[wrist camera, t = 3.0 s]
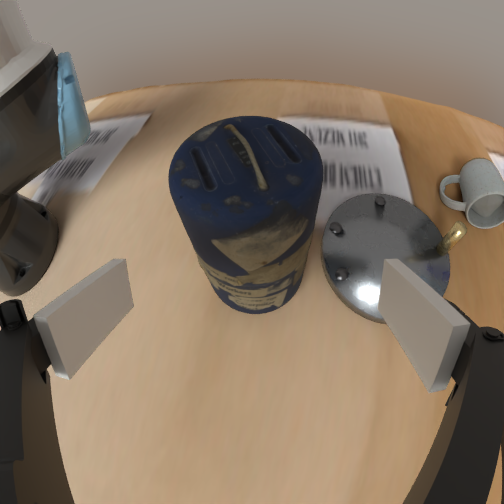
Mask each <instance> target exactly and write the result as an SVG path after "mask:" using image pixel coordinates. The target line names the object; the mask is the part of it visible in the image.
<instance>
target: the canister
mask: <svg viewBox="0 0 504 504" xmlns="http://www.w3.org/2000/svg"><path fill="white" fill-rule="evenodd" d="M322 182H323V165H322V160H321V157H320V154H319V152H318V150H317V148H316V147H315V145H314V144H313V142H312V141H311V140H310V139H309V138H308V137H307V136H306V135H305V134H304V133H302V132H301V131H300V130H299V129H297V128H295V127H294V126H292V125H290V124H287V123H285V122H282V121H279V120H276V119H272V118H268V117H261V116H239V117H233V118H228V119H223V120H220V121H217V122H214V123H211V124H209V125H207V126H205V127H203V128H201V129H200V130H198V131H196V132H195V133H194V134H192V135H191V136H190V137H189V138H188V139H186V140H185V141H184V142H183V143H182V145H181V146H180V147H179V149H178V150H177V151H176V153H175V155H174V157H173V159H172V162H171V165H170V169H169V188H170V193H171V196H172V199H173V201H174V204H175V206H176V209H177V211H178V213H179V215H180V218H181V220H182V223H183V225H184V227H185V229H186V232H187V234H188V236H189V238H190V240H191V242H192V245H193V248H194V250H195V252H196V254H197V257H198V261H199V264H200V266H201V268H202V269H203V270H204V271H205V274H206V275H207V277H208V279H209V281H210V283H211V285H212V287H213V289H214V291H215V292H216V294H217V295H218V296H219V298H220V299H221V300H222V301H223V302H224V303H225V304H227V305H228V306H230V307H231V308H233V309H235V310H238V311H241V312H244V313H249V314H262V313H267V312H271V311H274V310H276V309H278V308H280V307H282V306H283V305H284V304H286V303H287V302H288V301H289V300H290V299H291V298H292V297H293V296H294V294H295V293H296V291H297V290H298V288H299V286H300V283H301V280H302V276H303V271H304V267H305V263H306V259H307V254H308V250H309V247H310V244H311V239H312V234H313V229H314V225H315V219H316V214H317V208H318V203H319V199H320V195H321V189H322Z"/></svg>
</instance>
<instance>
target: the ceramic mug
mask: <svg viewBox="0 0 504 504" xmlns="http://www.w3.org/2000/svg"><path fill="white" fill-rule="evenodd" d="M451 183H459V184H460V189H461V192H462V197H463V203H462V202H458V201H454V200H452V199H450V198H448V197H447V196H446V195H445V194H444V191H445V189H446V188H445V186H446V185H448V184H451ZM440 198H441V200H442V202H443V203H444V204H445V205H446V206H447V207H449V208H451V209H454V210H459V211H465V214H466V218H467V220H468V222H469V223H470V224H471V225H473V226H475V227H477V228H481V229H488V228H493V227H496V226H498V225H500V224H501V223H503V222H504V182H503V180H502V178H501V175H500V173H499V171H498V170H497V168H496V167H495V165H494V164H493V163H492V162H491V161H489V160H487V159H485V158H474V159H472V160H470V161H468V162H467V163H466V164H464V166H463V167H462V168H461V171H460V175H450V176H447V177H445V178H444V179H443V180H442V181H441V183H440Z"/></svg>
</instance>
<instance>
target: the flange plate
mask: <svg viewBox="0 0 504 504" xmlns="http://www.w3.org/2000/svg"><path fill="white" fill-rule="evenodd" d="M466 232H467V228H466V226H465V224H464V223H462V222H461V221H457V222H456V223H455V225H454V226H453V227H452V228H451V229H450V231H449V232H448V233H447V234H446V235H445V237H444V238H443V237H442V235H441V233H440V232H439V230H438V228H437V227H436V226H435V224H434V223H433V222H432V221H431V220H430V219H429V217H428V216H427V215H425V214H424V213H423V212H422V211H421V210H420V209H418V208H417V207H415V206H414V205H412V204H411V203H409V202H407V201H405V200H403V199H400V198H397V197H394V196H390V195H386V194H365V195H360V196H356V197H354V198H352V199H349V200H348V201H346V202H344V203H343V204H342V205H340V206H339V207H338V208H337V209H336V210H335V211H334V212H333V214H332V215H331V217H330V218H329V220H328V223H327V225H326V228H325V231H324V235H323V238H322V244H321V260H322V266H323V269H324V273H325V276H326V278H327V280H328V282H329V284H330V286H331V288H332V289H333V291H334V292H335V294H336V295H337V296H338V297H339V299H340V300H341V301H342V302H343V303H344V304H345V305H346V306H347V307H349V308H350V309H351V310H353V311H354V312H355V313H357V314H359V315H360V316H362V317H364V318H366V319H369V320H371V321H374V322H378V323H382V324H387V323H386V322H385V320H384V318H383V317H382V315H381V314H380V312H379V311H378V309H377V307H378V301H379V295H380V288H381V281H382V274H383V266H384V259H399V260H400V261H401V262H402V263H403V264H405V265H406V266H407V267H408V268H409V269H411V270H412V271H413V272H414V273H415V274H416V275H418V276H419V277H420V278H421V279H422V280H423V281H425V282H426V283H427V284H428V285H429V286H430V287H431V288H433V289H434V290H435V291H436V292H437V293H438V294H439V295H440V296H442V297H443V295H444V293H445V291H446V288H447V285H448V282H449V276H450V260H449V254H448V252H449V251H450V250H451V249H452V248H453V247H454V246H455V244H456V243H457V242H458V241H459V240H460V239H461V238H462V237H463V236H464V235H465V233H466Z"/></svg>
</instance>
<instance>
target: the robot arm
mask: <svg viewBox="0 0 504 504" xmlns="http://www.w3.org/2000/svg"><path fill="white" fill-rule="evenodd" d="M90 129H91V128H90V123H89V119H88V115H87V111H86V108H85V104H84V100H83V97H82V93H81V90H80V86H79V82H78V79H77V75H76V71H75V68H74V64H73V62H72V58H71V54H70V53H69V52H65V53H60V54H59V55H58V56H56V55H55V52H54V50H53V48H52V46H51V44H49V43H44V42H38V41H34V40H33V39H32V37H31V34H30V32H29V30H28V28H27V25H26V23H25V20H24V17H23V15H22V12H21V10H20V7H19V4H18V2H17V0H0V291H1V292H3V293H4V294H6V295H8V296H19V295H22V294H24V293H25V292H27V291H28V290H30V289H31V288H32V287H33V286H34V285H35V284H36V283H37V282H38V281H39V279H40V278H41V277H42V275H43V274H44V272H45V271H46V269H47V267H48V266H49V264H50V262H51V259H52V257H53V255H54V252H55V249H56V245H57V240H58V225H57V221H56V219H55V217H54V216H53V215H52V214H51V212H50V211H49V210H48V209H47V208H46V207H45V206H43V205H41V204H39V203H37V202H35V201H33V200H31V199H29V198H27V197H25V196H22V195H20V194H19V193H17V191H18V190H20V189H21V188H22V187H24V186H25V185H26V184H27V183H29V182H30V181H31V180H33V179H34V178H35V177H37V176H38V175H39V174H41V173H42V172H44V171H45V170H46V169H48V168H49V167H51V166H52V165H53V164H55V163H56V162H58V161H59V160H61V159H62V160H64V159H65V158H66V156H67V155H68V154H70V153H71V152H73V151H74V150H76V149H77V148H78V147H80V146H81V145H83V144H84V143H85V142H86V141H87V140H88V138H89V135H90ZM133 307H134V304H133V299H132V294H131V289H130V283H129V277H128V271H127V265H126V259H113V260H111V261H110V262H108V263H107V264H105V265H104V266H102V267H101V268H99V269H98V270H96V271H95V272H93V273H92V274H90V275H89V276H87V277H86V278H84V279H83V280H81V281H80V282H79V283H77V284H76V285H74V286H73V287H71V288H70V289H69V290H67V291H66V292H64V293H63V294H62V295H60V296H59V297H57V298H56V299H55V300H53V301H52V302H51V303H49V304H48V305H46V306H45V307H44V308H42V309H41V310H40V311H38V312H37V313H36V314H34V315H33V318H32V319H31V320H29V321H28V320H27V317H26V314H25V311H24V308H23V304H22V301H21V300H18V299H14V300H9V301H5V302H3V303H1V304H0V326H1V331H0V504H75V503H74V500H73V497H72V494H71V491H70V487H69V484H68V480H67V477H66V473H65V469H64V465H63V461H62V456H61V452H60V447H59V442H58V437H57V431H56V425H55V419H54V412H53V404H52V395H51V384H50V376H49V373H48V371H47V368H48V367H49V366H50V365H51V364H52V367H53V369H54V371H55V374H56V376H59V377H62V378H65V379H68V380H70V379H71V378H72V377H73V376H74V374H75V373H76V372H77V371H78V370H79V368H80V367H81V366H82V365H83V364H84V363H85V361H86V360H87V359H88V358H89V357H90V355H91V354H92V353H93V352H94V351H95V350H96V348H97V347H98V346H99V345H100V344H101V343H102V342H103V340H104V339H105V338H106V337H107V336H108V335H109V334H110V332H111V331H112V330H113V329H114V328H115V327H116V326H117V324H118V323H119V322H120V321H121V320H122V319H123V318H124V317H125V316H126V314H127V313H128V312H129V311H130V310H131V309H132V308H133ZM377 309H378V311H379V312H380V314H381V315H382V317H383V318H384V320H385V322H386V323H387V325H388V326H389V328H390V329H391V331H392V332H393V334H394V336H395V337H396V339H397V340H398V342H399V344H400V345H401V347H402V348H403V350H404V352H405V353H406V355H407V357H408V358H409V360H410V362H411V363H412V365H413V367H414V368H415V370H416V372H417V373H418V375H419V377H420V379H421V380H422V382H423V384H424V386H425V387H426V389H427V391H428V393H432V392H436V391H440V390H444V389H446V387H447V385H448V383H449V380H450V378H451V376H452V378H453V379H454V380H455V382H456V384H455V386H454V388H453V390H452V392H451V394H450V396H449V398H448V400H447V402H446V404H445V406H447V408H446V411H445V414H444V417H443V420H442V422H441V425H440V428H439V430H438V433H437V435H436V438H435V440H434V442H433V445H432V447H431V449H430V452H429V454H428V456H427V458H426V460H425V463H424V465H423V467H422V469H421V471H420V473H419V475H418V477H417V479H416V481H415V482H414V484H413V486H412V488H411V490H410V492H409V493H408V495H407V497H406V499H405V500H404V502H403V504H486V501H487V498H488V495H489V491H490V488H491V485H492V481H493V477H494V473H495V469H496V465H497V460H498V455H499V450H500V445H501V450H502V501H501V504H504V334H503V333H502V332H501V331H499V330H498V329H495V328H492V327H480V328H479V327H478V326H477V325H476V324H475V323H474V322H473V321H472V320H471V319H470V318H469V317H468V316H467V315H465V313H464V312H462V311H461V310H460V309H459V308H458V307H457V306H456V305H455V304H454V303H452V302H450V301H448V300H446V299H444V298H443V297H442V296H440V295H439V294H438V293H437V292H436V291H435V290H434V289H433V288H431V287H430V286H429V285H428V284H427V283H426V282H425V281H423V280H422V279H421V278H420V277H419V276H418V275H416V274H415V273H414V272H413V271H412V270H411V269H409V268H408V267H407V266H406V265H405V264H403V263H402V262H401V261H400V260H399V259H384V266H383V274H382V281H381V288H380V295H379V301H378V307H377Z"/></svg>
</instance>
